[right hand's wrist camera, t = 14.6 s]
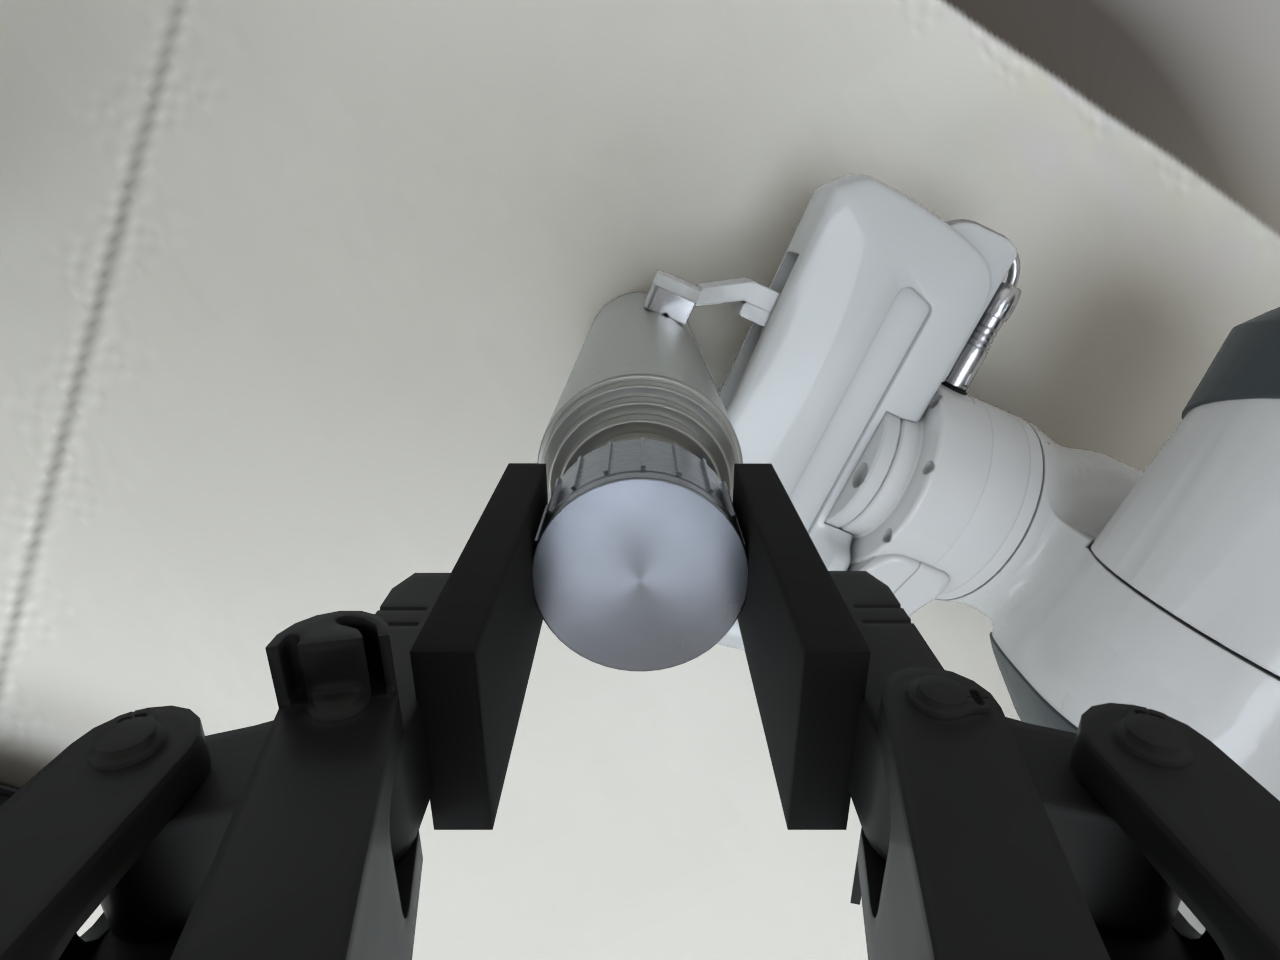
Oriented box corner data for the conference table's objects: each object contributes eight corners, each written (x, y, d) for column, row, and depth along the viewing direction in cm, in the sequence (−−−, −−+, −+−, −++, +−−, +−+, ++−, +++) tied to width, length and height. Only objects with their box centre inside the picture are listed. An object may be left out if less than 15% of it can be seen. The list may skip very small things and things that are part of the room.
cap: (507, 549, 15) (485, 605, 13) (613, 396, 13) (608, 429, 11) (662, 641, 15) (666, 708, 13) (775, 504, 14) (798, 554, 12)
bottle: (646, 269, 33) (657, 372, 12) (712, 350, 35) (835, 580, 13) (567, 339, 35) (441, 552, 13) (634, 415, 36) (625, 726, 14)
